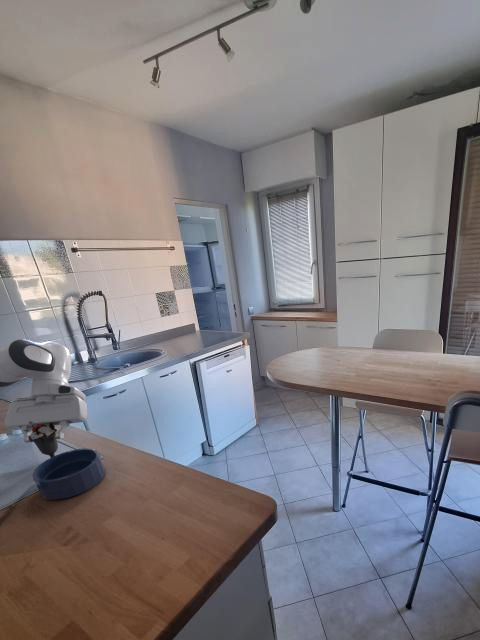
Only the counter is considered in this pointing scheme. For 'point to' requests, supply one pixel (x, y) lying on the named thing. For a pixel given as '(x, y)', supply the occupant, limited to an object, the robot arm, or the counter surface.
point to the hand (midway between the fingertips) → (44, 440)
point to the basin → (69, 473)
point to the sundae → (44, 438)
